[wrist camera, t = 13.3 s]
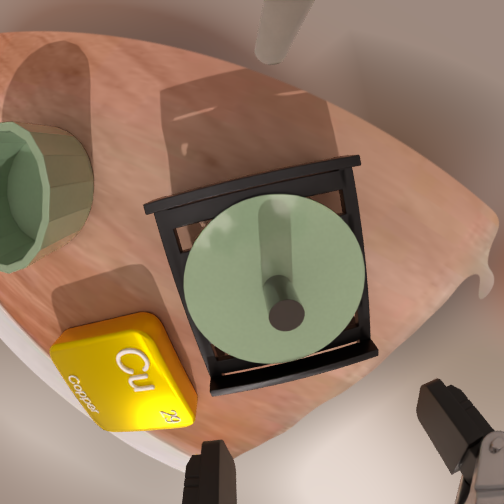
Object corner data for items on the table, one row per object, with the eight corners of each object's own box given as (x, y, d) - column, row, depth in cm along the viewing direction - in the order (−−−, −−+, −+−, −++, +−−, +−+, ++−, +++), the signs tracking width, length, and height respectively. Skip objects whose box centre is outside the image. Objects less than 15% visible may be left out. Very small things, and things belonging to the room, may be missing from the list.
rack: (166, 193, 28) (142, 204, 20) (327, 156, 28) (359, 154, 20) (215, 349, 33) (212, 396, 25) (351, 316, 33) (378, 355, 25)
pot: (-2, 155, 25) (-49, 159, 17) (80, 108, 25) (34, 95, 16) (23, 259, 29) (-19, 284, 20) (108, 229, 28) (69, 253, 20)
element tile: (58, 329, 31) (40, 349, 27) (156, 306, 31) (145, 328, 27) (110, 413, 36) (101, 435, 31) (202, 403, 35) (200, 429, 31)
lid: (163, 218, 23) (141, 235, 17) (347, 175, 22) (378, 180, 17) (214, 370, 27) (211, 411, 21) (365, 333, 27) (389, 367, 21)
